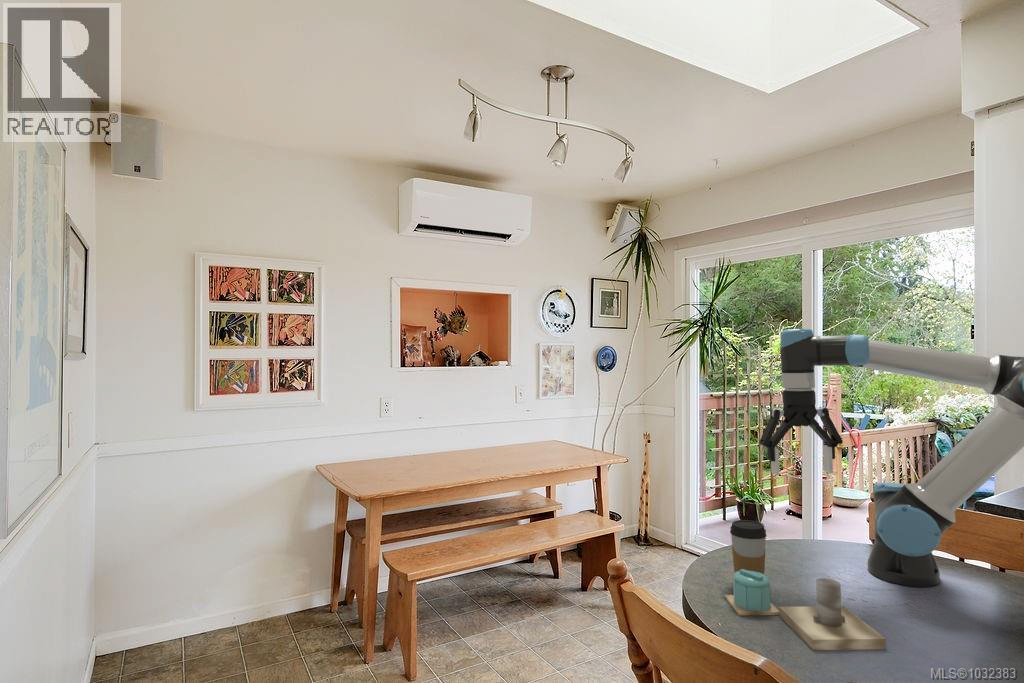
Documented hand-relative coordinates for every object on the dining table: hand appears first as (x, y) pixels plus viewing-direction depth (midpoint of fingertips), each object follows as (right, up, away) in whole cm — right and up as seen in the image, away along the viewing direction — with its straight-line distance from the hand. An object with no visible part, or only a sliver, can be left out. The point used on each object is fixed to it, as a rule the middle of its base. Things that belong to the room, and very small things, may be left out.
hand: (802, 473), depth 144 cm
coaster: (-19, -27, -16) cm, 36 cm away
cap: (-19, -26, -16) cm, 36 cm away
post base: (-9, -26, -28) cm, 39 cm away
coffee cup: (-15, -27, -5) cm, 31 cm away
